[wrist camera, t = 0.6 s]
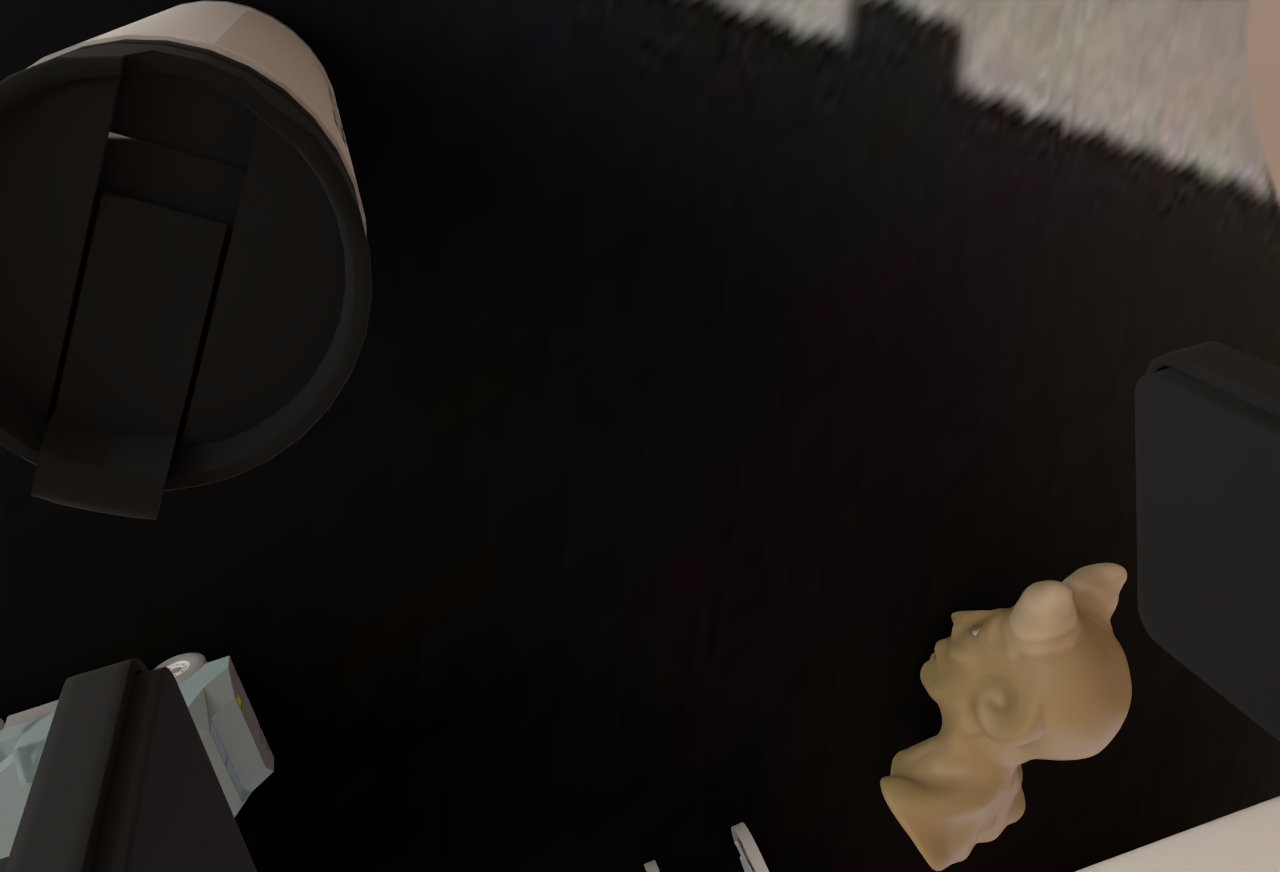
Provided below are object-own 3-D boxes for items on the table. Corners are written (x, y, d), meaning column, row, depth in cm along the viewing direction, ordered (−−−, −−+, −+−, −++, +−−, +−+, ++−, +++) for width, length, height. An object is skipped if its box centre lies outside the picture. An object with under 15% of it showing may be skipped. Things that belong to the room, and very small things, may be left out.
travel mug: (83, 202, 34) (-159, 475, 16) (132, -34, 32) (-80, -25, 14) (306, 261, 36) (311, 561, 18) (363, 44, 34) (431, 138, 16)
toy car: (-80, 735, 38) (-128, 835, 34) (231, 634, 40) (223, 718, 36) (6, 881, 41) (-28, 992, 37) (295, 782, 43) (294, 877, 38)
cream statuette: (900, 885, 44) (1102, 667, 38) (805, 728, 48) (972, 511, 42) (1040, 857, 48) (1240, 659, 42) (941, 717, 53) (1109, 520, 47)
